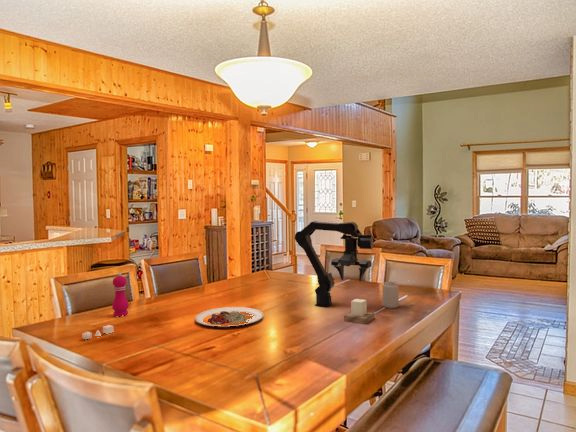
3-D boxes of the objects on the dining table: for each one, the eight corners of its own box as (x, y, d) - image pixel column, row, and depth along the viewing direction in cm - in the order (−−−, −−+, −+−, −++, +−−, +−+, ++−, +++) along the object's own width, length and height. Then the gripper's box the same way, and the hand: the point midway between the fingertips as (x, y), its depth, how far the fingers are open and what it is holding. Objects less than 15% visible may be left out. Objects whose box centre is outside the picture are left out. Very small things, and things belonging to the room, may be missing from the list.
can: (399, 309, 212) (398, 284, 212) (382, 308, 214) (382, 283, 213) (398, 305, 220) (398, 280, 219) (382, 304, 221) (382, 280, 220)
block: (351, 314, 195) (351, 301, 195) (356, 312, 200) (355, 298, 199) (362, 316, 193) (361, 302, 192) (366, 313, 197) (366, 300, 197)
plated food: (271, 312, 211) (271, 305, 211) (249, 332, 182) (249, 324, 182) (213, 309, 219) (212, 302, 219) (182, 327, 190) (182, 319, 190)
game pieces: (109, 332, 185) (109, 324, 185) (114, 333, 183) (113, 326, 183) (80, 340, 176) (80, 332, 176) (85, 341, 174) (84, 333, 174)
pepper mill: (132, 314, 212) (130, 271, 210) (120, 318, 205) (119, 274, 204) (120, 312, 215) (119, 271, 214) (109, 316, 208) (107, 273, 207)
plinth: (344, 322, 195) (343, 315, 195) (353, 316, 203) (353, 310, 203) (365, 325, 189) (365, 318, 189) (374, 319, 198) (374, 313, 198)
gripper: (325, 249, 213) (326, 282, 214) (363, 251, 203) (363, 285, 204) (335, 246, 222) (336, 278, 223) (371, 248, 213) (372, 281, 214)
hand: (351, 280), depth 216 cm, fingers open, 9 cm apart
